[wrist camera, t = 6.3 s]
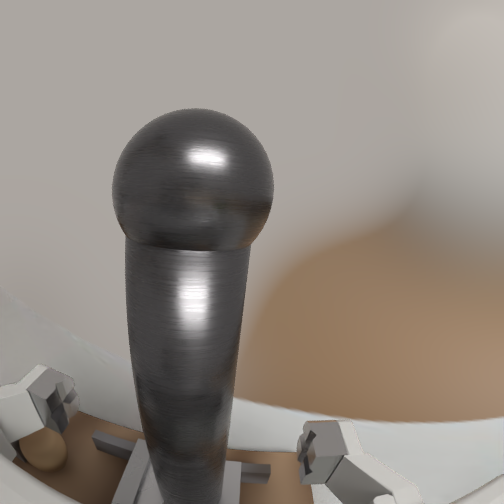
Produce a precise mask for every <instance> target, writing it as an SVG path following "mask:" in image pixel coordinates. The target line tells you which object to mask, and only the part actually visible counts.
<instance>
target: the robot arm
mask: <svg viewBox="0 0 504 504" xmlns="http://www.w3.org/2000/svg"><path fill="white" fill-rule="evenodd" d="M74 386H75V383H74V380H73V378H72V377H70V376H68V375H65V374H63V373H61V372H59V371H56V370H54V369H52V368H50V367H48V366H46V365H43V364H38V365H37V366H36V367H34V368H33V369H32V370H31V371H30V372H29V373H28V374H27V375H26V376H25V377H24V378H23V379H22V380H21V381H19V382H18V383H17V384H15V383H12V384H8V385H4V386H0V504H82V503H80V502H78V501H76V500H74V499H72V498H70V497H68V496H66V495H64V494H62V493H60V492H58V491H56V490H55V489H53V488H51V487H49V486H48V485H46V484H44V483H43V482H41V481H39V480H38V479H36V478H35V477H33V476H32V475H30V474H29V473H27V472H26V471H24V470H23V469H21V468H20V467H18V466H17V465H15V464H14V463H13V462H12V461H13V459H14V458H15V457H16V455H17V454H16V451H15V450H14V448H13V447H12V445H11V444H10V443H12V442H14V441H16V440H18V439H21V438H23V437H25V436H27V435H29V434H31V433H33V432H35V431H38V430H40V429H42V428H44V426H45V427H47V428H49V429H51V430H54V431H56V432H58V433H60V434H62V433H63V432H64V430H65V429H66V427H67V426H68V425H69V418H70V417H73V416H75V415H76V413H77V412H78V409H79V405H80V401H79V396H78V394H77V392H76V391H75V390H74V389H73V388H74ZM303 432H304V433H303V434H302V435H300V437H299V439H298V443H297V460H298V461H299V462H300V463H301V466H300V468H299V477H300V484H301V485H309V484H325V485H326V486H327V487H328V488H329V489H330V490H331V492H332V493H333V494H334V495H335V496H336V497H337V498H338V499H339V500H340V501H341V502H342V503H343V504H424V502H423V499H422V497H421V495H420V492H419V490H418V488H417V486H416V485H415V484H414V483H412V482H410V481H409V480H407V479H406V478H404V477H403V476H401V475H400V474H398V473H397V472H395V471H393V470H392V469H391V468H389V467H388V466H386V465H385V464H383V463H382V462H380V461H379V460H377V459H376V458H375V457H373V456H372V455H370V454H369V453H364V452H363V449H362V447H361V444H360V441H359V439H358V436H357V433H356V431H355V428H354V425H353V423H352V421H351V420H350V419H345V420H322V421H306V422H305V424H304V426H303ZM449 504H504V474H502V475H499V476H497V477H496V478H494V479H493V480H491V481H489V482H488V483H486V484H485V485H483V486H481V487H479V488H478V489H476V490H474V491H472V492H471V493H469V494H467V495H465V496H463V497H461V498H459V499H457V500H455V501H453V502H451V503H449Z"/></svg>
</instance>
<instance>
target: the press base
mask: <svg viewBox="0 0 504 504" xmlns="http://www.w3.org/2000/svg"><path fill="white" fill-rule="evenodd" d="M138 438H139V439H142V440H145V437H144V433H143V432H139V431H136V430H132V429H129V428H125V427H122V426H119V425H116V424H113V423H110V422H107V421H104V420H101V419H99V418H96V417H93V416H91V415H88V414H86V413H83V412H81V411H78V412H77V413H76V415H75V416H73V417H70V418H69V425H68V426H67V427H66V429H65V430H64V432H63V433H62V434H60V433H58V432H56V431H54V430H51V429H49V428H47V427H45V426H44V428H42V429H40V430H38V431H35V432H33V433H31V434H29V435H27V436H25V437H23V438H21V439H18V440H16V441H14V442H12V443H10V444H11V445H12V447H13V448H14V450H15V451H16V454H17V455H16V457H15V458H14V459H13V461H12V462H13V463H14V464H15V465H17V466H18V467H20V468H21V469H23V470H24V471H26V472H27V473H29V474H30V475H32V476H33V477H35V478H36V479H38V480H39V481H41V482H43V483H44V484H46V485H48V486H49V487H51V488H53V489H55V490H56V491H58V492H60V493H62V494H64V495H66V496H68V497H70V498H72V499H74V500H76V501H78V502H80V503H82V504H111V503H112V500H113V498H114V495H115V493H116V490H117V488H118V485H119V483H120V481H121V478H122V476H123V473H124V471H125V468H126V466H127V464H128V461H129V459H130V457H131V454H132V452H133V450H134V447H135V445H136V443H137V440H138ZM226 461H236V462H241V479H240V497H239V504H314V502H313V495H312V489H311V484H309V485H301V484H300V477H299V468H300V466H301V463H300V462H299V461H298V460H297V452H260V451H246V450H235V449H227V453H226Z"/></svg>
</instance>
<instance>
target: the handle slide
mask: <svg viewBox="0 0 504 504" xmlns="http://www.w3.org/2000/svg"><path fill="white" fill-rule="evenodd" d="M273 183H274V182H273V173H272V169H271V164H270V161H269V159H268V156H267V154H266V152H265V150H264V148H263V146H262V145H261V143H260V142H259V140H258V139H257V138H256V136H255V135H254V134H253V133H252V132H251V131H250V130H249V129H248V128H247V127H245V126H244V125H243V124H241V123H240V122H239V121H237V120H235V119H233V118H231V117H230V116H228V115H226V114H223V113H220V112H216V111H213V110H208V109H182V110H177V111H174V112H170V113H167V114H164V115H162V116H160V117H158V118H156V119H154V120H153V121H151V122H149V123H148V124H146V125H145V126H144V127H143V128H142V129H140V130H139V131H138V132H137V133H136V134H135V135H134V136H133V137H132V139H131V140H130V141H129V142H128V144H127V145H126V147H125V148H124V150H123V152H122V153H121V156H120V158H119V160H118V162H117V165H116V169H115V172H114V177H113V184H112V198H113V206H114V210H115V214H116V217H117V220H118V222H119V224H120V226H121V228H122V230H123V232H124V233H125V235H126V242H125V243H126V244H125V273H126V274H125V276H126V277H125V279H126V304H127V322H128V334H129V345H130V354H131V362H132V370H133V377H134V384H135V390H136V396H137V402H138V408H139V413H140V418H141V423H142V428H143V432H144V437H145V440H142V439H139V438H138V440H137V443H136V445H135V447H134V450H133V452H132V454H131V457H130V459H129V461H128V464H127V466H126V468H125V471H124V473H123V476H122V478H121V481H120V483H119V485H118V488H117V490H116V493H115V495H114V498H113V500H112V503H111V504H239V497H240V479H241V462H236V461H226V453H227V445H228V436H229V427H230V419H231V410H232V401H233V393H234V383H235V375H236V367H237V358H238V350H239V340H240V333H241V323H242V316H243V307H244V298H245V290H246V282H247V274H248V265H249V256H250V248H251V244H252V242H253V241H254V240H255V239H256V238H257V236H258V235H259V233H260V232H261V230H262V229H263V227H264V225H265V223H266V221H267V219H268V216H269V213H270V210H271V205H272V201H273V192H274V184H273Z"/></svg>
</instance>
